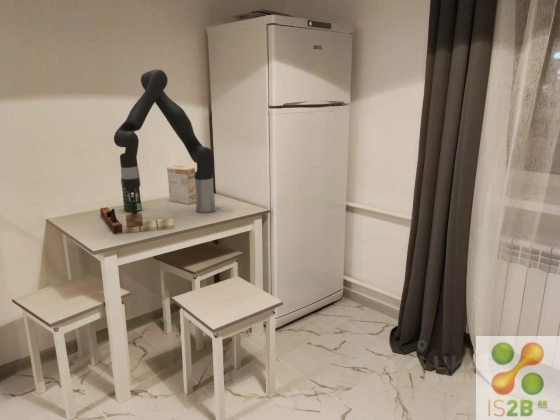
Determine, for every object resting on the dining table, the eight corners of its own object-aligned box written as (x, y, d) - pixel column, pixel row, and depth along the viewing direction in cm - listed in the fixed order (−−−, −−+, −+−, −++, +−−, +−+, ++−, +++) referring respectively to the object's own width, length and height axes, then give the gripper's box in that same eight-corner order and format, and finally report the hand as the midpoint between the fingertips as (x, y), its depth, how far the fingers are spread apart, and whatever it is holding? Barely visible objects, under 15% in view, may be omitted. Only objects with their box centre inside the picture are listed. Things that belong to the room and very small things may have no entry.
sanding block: (142, 223, 204) (141, 212, 203) (143, 225, 200) (142, 215, 199) (126, 224, 202) (125, 214, 201) (126, 227, 198) (125, 216, 197)
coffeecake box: (197, 201, 247) (195, 167, 242) (188, 204, 241) (186, 169, 236) (178, 198, 255) (175, 165, 249) (169, 201, 249) (166, 167, 244)
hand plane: (126, 232, 197) (124, 211, 194) (114, 234, 194) (111, 213, 191) (108, 214, 224) (106, 195, 222) (97, 216, 222) (95, 197, 219)
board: (172, 221, 211) (172, 218, 211) (174, 228, 201) (174, 225, 201) (123, 225, 205) (123, 222, 205) (123, 233, 195) (123, 229, 194)
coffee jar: (121, 209, 232) (118, 175, 227) (136, 207, 237) (133, 173, 232) (129, 213, 225) (125, 177, 220) (144, 210, 230) (140, 175, 225)
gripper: (139, 179, 189) (143, 215, 194) (139, 172, 202) (142, 206, 207) (121, 180, 187) (125, 217, 192) (121, 174, 200) (126, 208, 205)
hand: (134, 211), depth 199 cm, fingers open, 8 cm apart
